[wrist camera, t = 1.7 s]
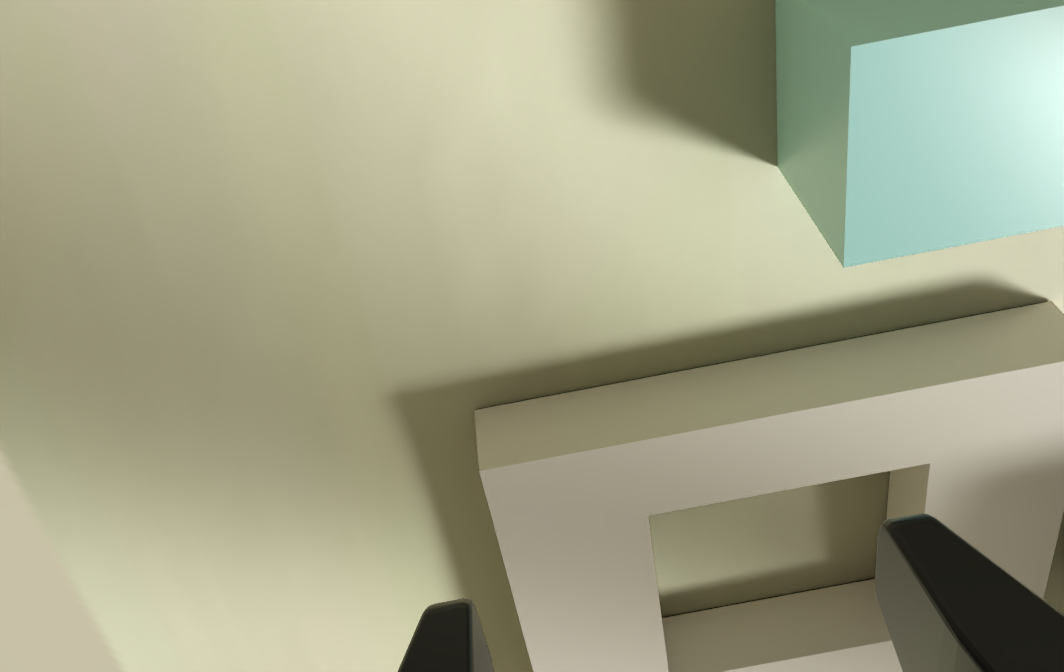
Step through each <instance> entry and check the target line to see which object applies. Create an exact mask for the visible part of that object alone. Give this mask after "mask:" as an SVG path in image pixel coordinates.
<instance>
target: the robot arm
mask: <svg viewBox="0 0 1064 672" xmlns="http://www.w3.org/2000/svg"><path fill="white" fill-rule="evenodd" d="M875 588H876V594H877V598H878V602H879V605H880V609H881V611H882V614H883V617H884V620H885V623H886V626H887V628H888V631H889V634H890V637H891V640H892V643H893V645H894V648H895V651H896V654H897V657H898V660H899V662H900V665H901V668H902V671H903V672H1064V614H1062V613H1061V612H1060V611H1058V610H1057V609H1056V608H1054V607H1053V606H1052V605H1050V604H1049V603H1048V602H1046V601H1045V600H1044V599H1043V598H1041V597H1040V596H1039V595H1037V594H1036V593H1035V592H1033V591H1032V590H1031V589H1029V588H1028V587H1027V586H1025V585H1024V584H1023V583H1021V582H1020V581H1019V580H1017V579H1016V578H1015V577H1013V576H1012V575H1011V574H1009V573H1008V572H1007V571H1005V570H1004V569H1003V568H1002V567H1000V566H999V565H998V564H996V563H995V562H994V561H992V560H991V559H990V558H988V557H987V556H986V555H984V554H983V553H982V552H980V551H979V550H978V549H976V548H975V547H974V546H972V545H971V544H970V543H968V542H967V541H966V540H964V539H963V538H962V537H961V536H959V535H958V534H957V533H955V532H954V531H953V530H951V529H950V528H949V527H947V526H946V525H945V524H943V523H942V522H941V521H939V520H938V519H937V518H935V517H933V516H931V515H929V514H925V513H918V514H913V515H907V516H902V517H897V518H891V519H887V520H885V521H883V522H882V523H881V525H880V527H879V531H878V542H877V556H876V570H875ZM398 672H494V671H493V665H492V660H491V656H490V652H489V649H488V646H487V643H486V639H485V636H484V633H483V630H482V627H481V623H480V620H479V617H478V614H477V611H476V608H475V605H474V603H473V602H472V601H471V600H469V599H458V600H453V601H448V602H442V603H437V604H433V605H430V606H429V607H428V608H427V609H425V611H424V612H423V614H422V616H421V618H420V621H419V623H418V625H417V628H416V630H415V632H414V635H413V637H412V639H411V642H410V644H409V646H408V649H407V651H406V653H405V656H404V658H403V660H402V663H401V665H400V667H399V670H398Z"/></svg>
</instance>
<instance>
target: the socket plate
mask: <svg viewBox="0 0 1064 672" xmlns="http://www.w3.org/2000/svg"><path fill="white" fill-rule="evenodd" d="M474 415H475V428H476V440H477V453H478V465H479V473H480V477H481V481H482V484H483V488H484V492H485V495H486V499H487V503H488V506H489V510H490V514H491V517H492V521H493V525H494V529H495V532H496V536H497V540H498V543H499V547H500V551H501V554H502V558H503V562H504V565H505V569H506V573H507V577H508V580H509V584H510V588H511V591H512V595H513V599H514V602H515V606H516V610H517V613H518V617H519V621H520V625H521V628H522V632H523V636H524V639H525V643H526V647H527V650H528V654H529V658H530V661H531V665H532V669H533V672H903V671H902V668H901V665H900V662H899V660H898V657H897V654H896V651H895V648H894V645H893V643H892V640H891V637H890V634H889V631H888V628H887V626H886V623H885V620H884V617H883V614H882V611H881V609H880V605H879V602H878V598H877V594H876V588H875V579H871V580H866V581H860V582H855V583H850V584H844V585H839V586H833V587H828V588H823V589H817V590H812V591H806V592H801V593H796V594H790V595H785V596H779V597H774V598H768V599H763V600H758V601H752V602H747V603H741V604H736V605H731V606H725V607H720V608H714V609H709V610H704V611H698V612H693V613H687V614H682V615H677V616H671V617H666V618H662V616H661V609H660V601H659V594H658V586H657V578H656V571H655V563H654V556H653V548H652V540H651V533H650V525H649V518H648V516H651V515H656V514H662V513H667V512H672V511H678V510H683V509H688V508H694V507H699V506H704V505H710V504H715V503H720V502H726V501H731V500H737V499H742V498H747V497H753V496H758V495H763V494H769V493H774V492H779V491H785V490H790V489H795V488H801V487H806V486H811V485H817V484H822V483H828V482H833V481H838V480H844V479H849V478H854V477H860V476H865V475H870V474H876V473H881V472H886V471H890V479H889V491H888V504H887V517H886V520H887V519H891V518H897V517H902V516H907V515H913V514H918V513H925V514H929V515H931V516H933V517H935V518H937V519H938V520H939V521H941V522H942V523H943V524H945V525H946V526H947V527H949V528H950V529H951V530H953V531H954V532H955V533H957V534H958V535H959V536H961V537H962V538H963V539H964V540H966V541H967V542H968V543H970V544H971V545H972V546H974V547H975V548H976V549H978V550H979V551H980V552H982V553H983V554H984V555H986V556H987V557H988V558H990V559H991V560H992V561H994V562H995V563H996V564H998V565H999V566H1000V567H1002V568H1003V569H1004V570H1005V571H1007V572H1008V573H1009V574H1011V575H1012V576H1013V577H1015V578H1016V579H1017V580H1019V581H1020V582H1021V583H1023V584H1024V585H1025V586H1027V587H1028V588H1029V589H1031V590H1032V591H1033V592H1035V593H1036V594H1037V595H1039V596H1040V597H1041V598H1044V594H1045V590H1046V586H1047V581H1048V577H1049V573H1050V569H1051V564H1052V560H1053V556H1054V552H1055V547H1056V543H1057V539H1058V535H1059V530H1060V526H1061V522H1062V518H1063V513H1064V314H1063V313H1062V312H1061V311H1060V310H1059V309H1058V308H1057V306H1056V305H1055V304H1054V303H1053V302H1052V301H1049V302H1044V303H1039V304H1034V305H1028V306H1023V307H1018V308H1012V309H1007V310H1002V311H997V312H991V313H986V314H981V315H975V316H970V317H965V318H960V319H954V320H949V321H944V322H938V323H933V324H928V325H923V326H917V327H912V328H907V329H901V330H896V331H891V332H885V333H880V334H875V335H870V336H864V337H859V338H854V339H848V340H843V341H838V342H833V343H827V344H822V345H817V346H811V347H806V348H801V349H796V350H790V351H785V352H780V353H774V354H769V355H764V356H759V357H753V358H748V359H743V360H737V361H732V362H727V363H721V364H716V365H711V366H706V367H700V368H695V369H690V370H684V371H679V372H674V373H669V374H663V375H658V376H653V377H647V378H642V379H637V380H632V381H626V382H621V383H616V384H610V385H605V386H600V387H594V388H589V389H584V390H579V391H573V392H568V393H563V394H557V395H552V396H547V397H542V398H536V399H531V400H526V401H520V402H515V403H510V404H505V405H499V406H494V407H489V408H483V409H478V410H474Z"/></svg>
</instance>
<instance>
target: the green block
mask: <svg viewBox="0 0 1064 672" xmlns="http://www.w3.org/2000/svg"><path fill="white" fill-rule="evenodd" d="M775 7H776V82H777V156H778V168H779V169H780V171H781V173H782V174H783V176H784V177H785V179H786V180H787V182H788V183H789V185H790V186H791V188H792V189H793V191H794V192H795V194H796V195H797V197H798V198H799V200H800V202H801V203H802V205H803V206H804V208H805V209H806V211H807V212H808V214H809V215H810V217H811V218H812V220H813V221H814V223H815V224H816V226H817V228H818V229H819V231H820V232H821V234H822V235H823V237H824V238H825V240H826V241H827V243H828V244H829V246H830V247H831V249H832V250H833V252H834V254H835V255H836V257H837V258H838V260H839V261H840V263H841V264H842V266H843V267H849V266H855V265H860V264H865V263H870V262H876V261H881V260H886V259H892V258H897V257H902V256H907V255H913V254H918V253H923V252H929V251H934V250H939V249H944V248H950V247H955V246H960V245H966V244H971V243H976V242H981V241H987V240H992V239H997V238H1002V237H1008V236H1013V235H1018V234H1024V233H1029V232H1034V231H1039V230H1045V229H1050V228H1055V227H1061V226H1064V0H775Z"/></svg>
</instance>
